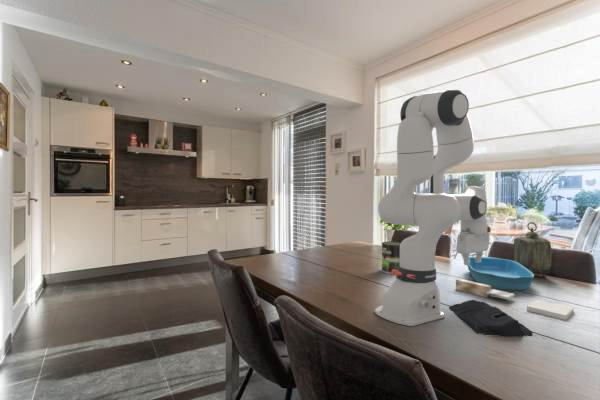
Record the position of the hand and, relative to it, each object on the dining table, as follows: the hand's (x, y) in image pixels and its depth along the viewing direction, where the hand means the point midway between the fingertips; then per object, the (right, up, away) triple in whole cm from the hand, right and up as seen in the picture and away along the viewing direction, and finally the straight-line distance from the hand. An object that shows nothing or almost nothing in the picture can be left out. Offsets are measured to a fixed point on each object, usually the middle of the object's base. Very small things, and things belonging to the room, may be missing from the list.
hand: (472, 263), depth 119 cm
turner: (+3, -12, -2) cm, 12 cm away
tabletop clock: (+42, -11, +26) cm, 51 cm away
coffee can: (-21, -11, +33) cm, 41 cm away
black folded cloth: (-10, -13, -25) cm, 30 cm away
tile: (+12, -11, -14) cm, 22 cm away
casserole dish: (+20, -11, +18) cm, 29 cm away
